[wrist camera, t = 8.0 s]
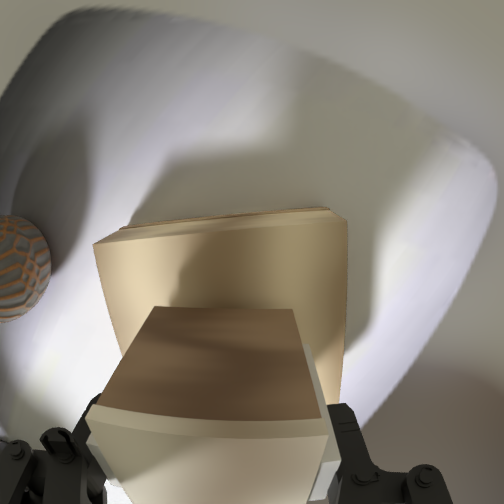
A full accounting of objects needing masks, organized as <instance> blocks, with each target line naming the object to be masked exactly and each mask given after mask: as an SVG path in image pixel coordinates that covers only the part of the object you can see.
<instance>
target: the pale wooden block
mask: <svg viewBox="0 0 504 504" xmlns="http://www.w3.org/2000/svg"><path fill="white" fill-rule="evenodd" d="M85 420H86V422H87V424H88V426H89V428H90V430H91V432H92V434H93V436H94V438H95V440H96V442H97V444H98V446H99V448H100V450H101V452H102V454H103V456H104V457H105V459H106V461H107V463H108V465H109V466H110V468H111V470H112V472H113V473H114V475H115V477H116V478H117V480H118V482H119V483H120V485H121V486H122V488H123V490H124V491H125V493H126V494H127V496H128V497H129V499H130V500H131V502H132V503H133V504H306V502H307V500H308V497H309V494H310V491H311V489H312V486H313V483H314V480H315V477H316V474H317V471H318V468H319V465H320V462H321V459H322V456H323V453H324V449H325V446H326V443H327V439H328V436H329V434H328V430H327V426H326V422H325V418H322V417H321V413H320V409H319V405H318V401H317V398H316V394H315V390H314V386H313V382H312V379H311V375H310V371H309V367H308V364H307V360H306V356H305V353H304V349H303V345H302V342H301V338H300V334H299V331H298V327H297V324H296V320H295V317H294V313H293V309H224V308H189V307H166V306H154V307H153V309H152V311H151V312H150V314H149V315H148V317H147V318H146V320H145V322H144V323H143V325H142V327H141V328H140V330H139V331H138V333H137V335H136V336H135V338H134V340H133V341H132V343H131V344H130V346H129V348H128V349H127V351H126V353H125V354H124V356H123V358H122V359H121V361H120V363H119V365H118V366H117V368H116V370H115V371H114V373H113V375H112V376H111V378H110V380H109V382H108V383H107V385H106V387H105V389H104V390H103V392H102V394H101V396H100V397H99V399H98V401H97V403H96V404H93V405H92V406H91V408H90V410H89V412H88V413H87V415H86V417H85Z"/></svg>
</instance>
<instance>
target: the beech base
mask: <svg viewBox="0 0 504 504" xmlns="http://www.w3.org/2000/svg"><path fill="white" fill-rule="evenodd" d="M93 249H94V254H95V259H96V264H97V268H98V272H99V277H100V281H101V285H102V289H103V293H104V297H105V300H106V304H107V308H108V311H109V315H110V318H111V322H112V325H113V328H114V332H115V335H116V338H117V341H118V344H119V347H120V350H121V353H122V356H124V354H125V353H126V351H127V349H128V348H129V346H130V344H131V343H132V341H133V340H134V338H135V336H136V335H137V333H138V331H139V330H140V328H141V327H142V325H143V323H144V322H145V320H146V318H147V317H148V315H149V314H150V312H151V311H152V309H153V307H154V306H166V307H189V308H224V309H293V313H294V317H295V320H296V324H297V327H298V331H299V334H300V338H301V342H302V344H309V346H310V349H311V353H312V356H313V359H314V363H315V366H316V370H317V373H318V377H319V380H320V384H321V387H322V391H323V394H324V398H325V402H326V405H329V404H339V396H340V387H341V377H342V366H343V354H344V340H345V323H346V301H347V221H346V220H345V219H343V218H341V217H340V216H338V215H336V214H335V213H333V212H331V211H330V210H329V208H327V207H315V208H301V209H287V210H274V211H262V212H250V213H239V214H228V215H218V216H208V217H198V218H188V219H179V220H170V221H161V222H153V223H144V224H136V225H128V226H124V227H122V228H120V229H119V230H118V231H116V232H114V233H112V234H111V235H109V236H107V237H105V238H103V239H101V240H100V241H98V242H96V243H94V244H93Z"/></svg>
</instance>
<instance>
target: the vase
mask: <svg viewBox="0 0 504 504" xmlns="http://www.w3.org/2000/svg"><path fill="white" fill-rule="evenodd" d="M50 276H51V255H50V250H49V247H48V244H47V242H46V240H45V238H44V236H43V235H42V233H41V232H40V230H39V229H38V228H37V227H36V226H35V225H34V224H32V223H31V222H30V221H28V220H26V219H24V218H21V217H18V216H14V215H0V323H5V322H9V321H12V320H15V319H17V318H19V317H21V316H23V315H24V314H26V313H27V312H28V311H30V310H31V309H32V308H33V307H34V306H35V305H36V304H37V303H38V302H39V300H40V299H41V297H42V296H43V294H44V292H45V290H46V288H47V286H48V283H49V280H50Z"/></svg>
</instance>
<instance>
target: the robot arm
mask: <svg viewBox="0 0 504 504" xmlns="http://www.w3.org/2000/svg"><path fill="white" fill-rule="evenodd" d="M302 345H303V349H304V353H305V356H306V360H307V364H308V367H309V371H310V375H311V379H312V382H313V386H314V390H315V394H316V398H317V401H318V405H319V409H320V413H321V417H322V418H325V422H326V426H327V430H328V434H329V436H328V439H327V443H326V446H325V449H324V453H323V456H322V459H321V462H320V465H319V468H318V471H317V474H316V477H315V480H314V483H313V486H312V489H311V491H310V494H309V497H308V500H307V501H313V500H322V499H325V498H326V495H327V493H328V498H329V504H453V502H452V500H451V497H450V494H449V492H448V489H447V486H446V484H445V481H444V479H443V476H442V474H441V472H440V471H439V470H438V469H437V468H436V467H434V466H432V465H427V464H423V465H418V466H416V467H413V468H412V469H411V470H410V471H409V472H408V473H400V472H387V471H384V470H381V469H379V468H378V466H376V465H374V464H373V463H372V461H371V459H370V456H369V453H368V450H367V448H366V445H365V442H364V439H363V436H362V433H361V431H360V428H359V425H358V423H357V419H356V417H355V414H354V411H353V410H352V409H351V408H350V407H349V406H348V405H347V404H346V403H340V404H329V405H326V402H325V398H324V394H323V391H322V387H321V384H320V380H319V377H318V373H317V370H316V366H315V363H314V359H313V356H312V353H311V349H310V346H309V344H302ZM101 394H102V393H99V394H98V395H97V396H96V397H94V398H93V399H92V400H91V401H90V403H89V404H88V406H87V408H86V410H85V411H84V413H83V414H82V417H81V418H80V420H79V421H78V423H77V425H76V427H75V428H74V430H73V432H72V434H71V432H70V431H68V430H67V429H65V428H60V427H57V428H51V429H49V430H47V431H45V432H44V433H43V434H42V436H41V438H40V441H41V443H42V444H43V446H44V447H45V449H46V450H47V451H45V450H32V449H31V447H30V446H29V444H28V443H26V442H25V441H22V440H14V441H11V442H10V443H6V442H3V441H0V504H107V492H106V488H105V487H104V483H105V481H106V478H107V479H108V481H109V482H110V484H111V485H113V486H117V487H121V488H122V486H121V485H120V483H119V482H118V480H117V478H116V477H115V475H114V473H113V472H112V470H111V468H110V466H109V465H108V463H107V461H106V459H105V457H104V456H103V454H102V452H101V450H100V448H99V446H98V444H97V442H96V440H95V438H94V436H93V434H92V432H91V430H90V428H89V426H88V424H87V422H86V420H85V417H86V415H87V413H88V412H89V410H90V408H91V406H92V405H93V404H96V403H97V401H98V399H99V397H100V396H101Z"/></svg>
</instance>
